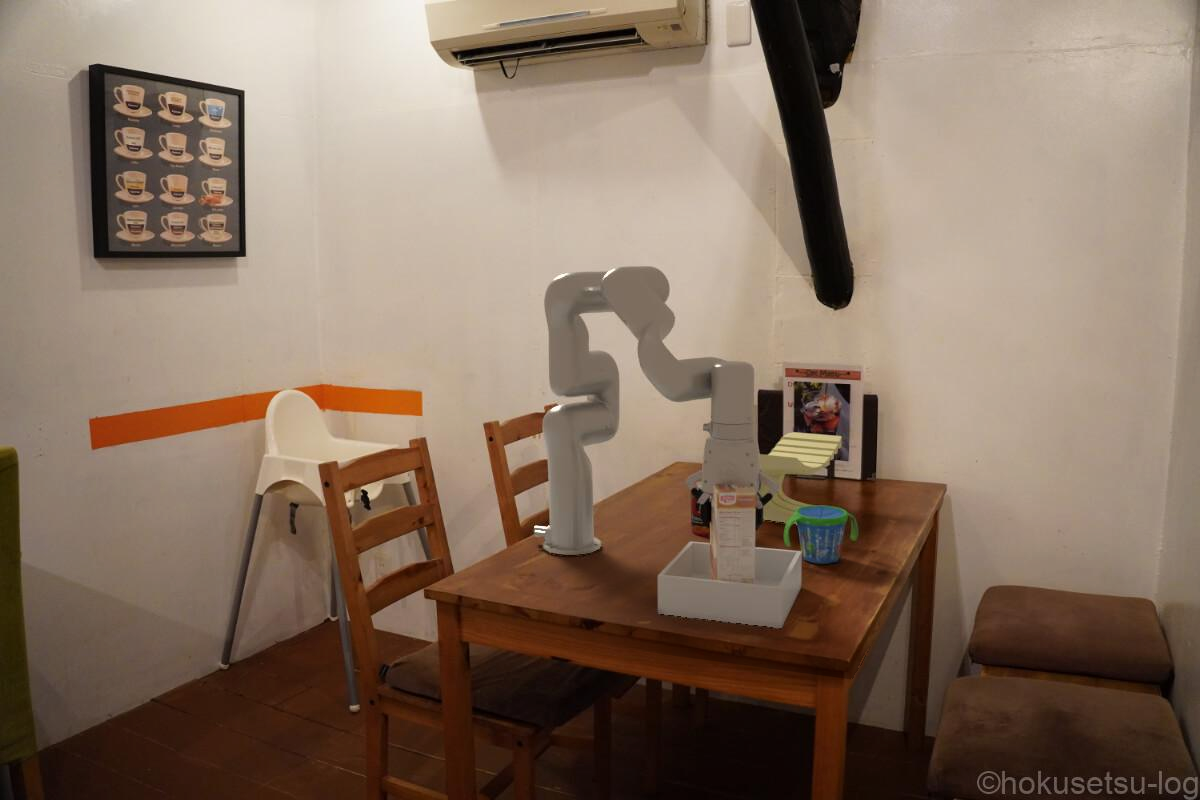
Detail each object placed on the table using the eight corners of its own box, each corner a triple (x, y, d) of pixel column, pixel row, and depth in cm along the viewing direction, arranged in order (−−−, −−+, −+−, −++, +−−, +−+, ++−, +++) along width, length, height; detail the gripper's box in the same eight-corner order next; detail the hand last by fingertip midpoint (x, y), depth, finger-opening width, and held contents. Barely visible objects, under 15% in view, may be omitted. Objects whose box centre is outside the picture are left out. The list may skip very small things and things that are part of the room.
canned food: (685, 534, 213) (685, 486, 212) (698, 525, 220) (698, 479, 219) (717, 538, 210) (717, 490, 208) (729, 529, 217) (730, 482, 215)
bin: (657, 614, 165) (657, 575, 164) (690, 575, 185) (689, 541, 184) (781, 628, 157) (781, 588, 156) (801, 587, 177) (801, 551, 176)
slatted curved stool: (780, 498, 244) (781, 431, 242) (840, 506, 236) (841, 436, 233) (730, 526, 219) (731, 451, 217) (795, 535, 211) (796, 457, 208)
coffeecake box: (708, 572, 178) (708, 471, 175) (746, 572, 178) (747, 471, 175) (714, 600, 163) (715, 491, 161) (755, 600, 163) (757, 491, 160)
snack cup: (791, 569, 188) (791, 519, 186) (776, 553, 198) (776, 506, 197) (866, 565, 189) (868, 516, 188) (848, 550, 200) (849, 503, 198)
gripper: (679, 432, 166) (679, 527, 169) (777, 437, 160) (776, 536, 163) (690, 425, 173) (690, 517, 176) (785, 430, 167) (783, 524, 170)
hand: (731, 525), depth 169 cm, fingers closed on coffeecake box, 8 cm apart
